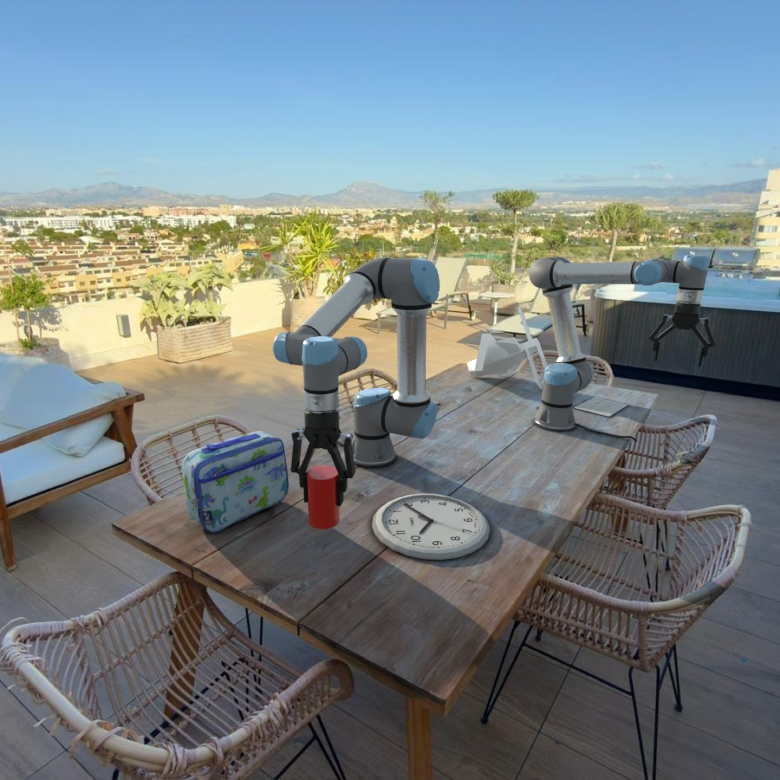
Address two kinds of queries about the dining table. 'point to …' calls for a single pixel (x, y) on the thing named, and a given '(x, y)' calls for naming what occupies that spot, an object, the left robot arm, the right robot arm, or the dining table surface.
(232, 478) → the lunch box
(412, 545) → the wall clock
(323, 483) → the can
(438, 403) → the fork
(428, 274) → the left robot arm
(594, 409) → the invitation card
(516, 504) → the dining table surface
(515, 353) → the white plastic object
